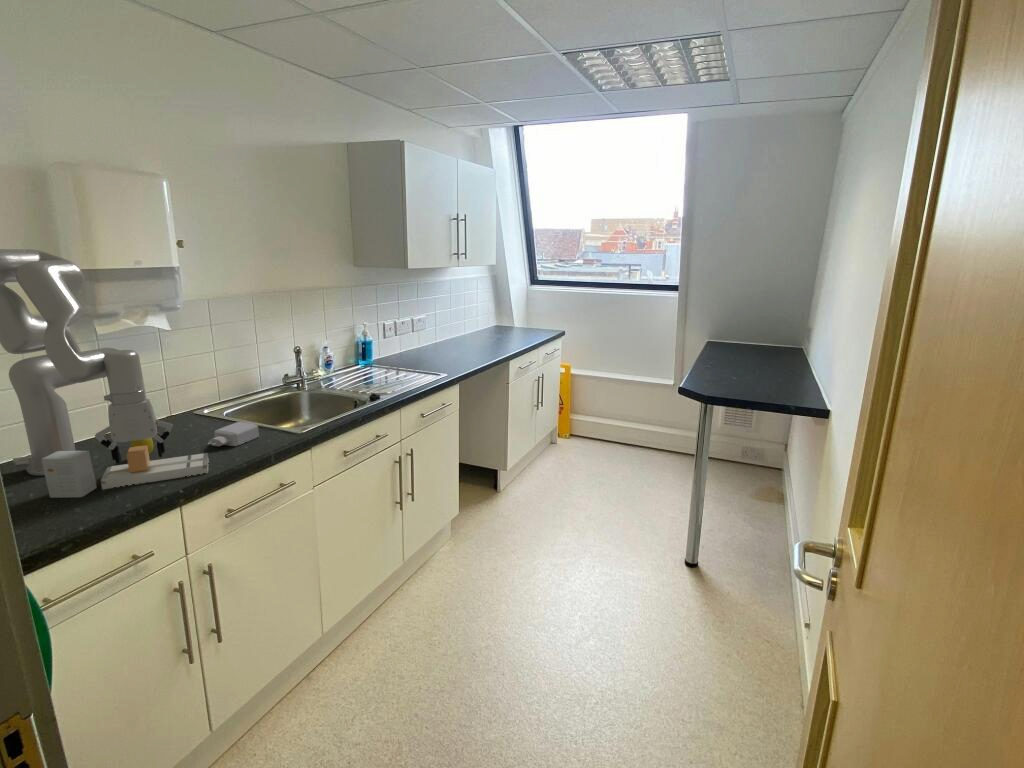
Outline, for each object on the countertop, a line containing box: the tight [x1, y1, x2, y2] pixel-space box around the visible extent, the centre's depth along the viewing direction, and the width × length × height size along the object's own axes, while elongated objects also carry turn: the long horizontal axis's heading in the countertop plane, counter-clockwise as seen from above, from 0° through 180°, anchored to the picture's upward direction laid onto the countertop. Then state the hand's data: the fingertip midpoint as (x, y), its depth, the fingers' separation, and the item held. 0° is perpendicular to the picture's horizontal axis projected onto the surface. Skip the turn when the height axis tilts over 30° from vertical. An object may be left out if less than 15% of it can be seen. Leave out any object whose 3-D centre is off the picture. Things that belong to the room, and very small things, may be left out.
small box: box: [41, 450, 98, 499], centre depth 139 cm, size 8×6×10 cm
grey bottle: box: [207, 421, 260, 447], centre depth 175 cm, size 5×9×15 cm
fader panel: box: [100, 452, 210, 490], centre depth 152 cm, size 24×10×3 cm, turn 117°
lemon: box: [130, 438, 155, 455], centre depth 162 cm, size 6×6×8 cm
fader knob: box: [126, 445, 151, 472], centre depth 149 cm, size 4×6×6 cm, turn 27°
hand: (140, 458), depth 149 cm, fingers open, 9 cm apart
